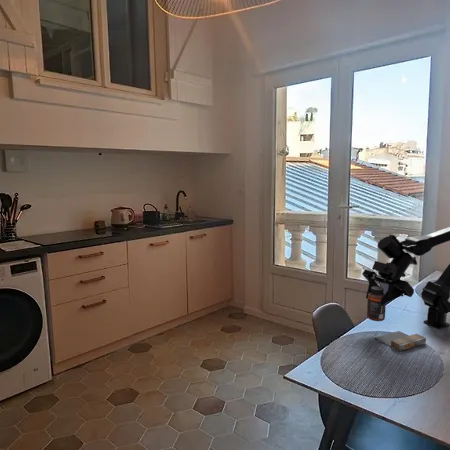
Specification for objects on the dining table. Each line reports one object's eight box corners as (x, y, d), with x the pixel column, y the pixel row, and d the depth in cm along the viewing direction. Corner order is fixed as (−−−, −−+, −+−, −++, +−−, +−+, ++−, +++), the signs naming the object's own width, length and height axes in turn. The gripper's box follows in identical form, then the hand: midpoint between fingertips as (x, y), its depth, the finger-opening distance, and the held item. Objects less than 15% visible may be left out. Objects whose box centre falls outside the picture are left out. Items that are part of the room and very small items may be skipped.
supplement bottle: (386, 322, 130) (388, 291, 128) (368, 321, 131) (369, 290, 129) (383, 315, 135) (384, 285, 134) (365, 314, 137) (366, 284, 135)
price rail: (416, 339, 129) (416, 333, 129) (426, 344, 125) (426, 338, 125) (390, 347, 124) (391, 340, 124) (400, 352, 120) (401, 345, 120)
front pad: (399, 331, 135) (399, 330, 135) (416, 339, 129) (416, 338, 129) (374, 338, 130) (374, 337, 130) (390, 347, 124) (390, 346, 124)
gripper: (366, 247, 139) (342, 280, 137) (409, 258, 123) (383, 296, 120) (381, 265, 144) (358, 298, 141) (425, 278, 127) (400, 315, 124)
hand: (373, 301), depth 132 cm, fingers closed on supplement bottle, 6 cm apart
